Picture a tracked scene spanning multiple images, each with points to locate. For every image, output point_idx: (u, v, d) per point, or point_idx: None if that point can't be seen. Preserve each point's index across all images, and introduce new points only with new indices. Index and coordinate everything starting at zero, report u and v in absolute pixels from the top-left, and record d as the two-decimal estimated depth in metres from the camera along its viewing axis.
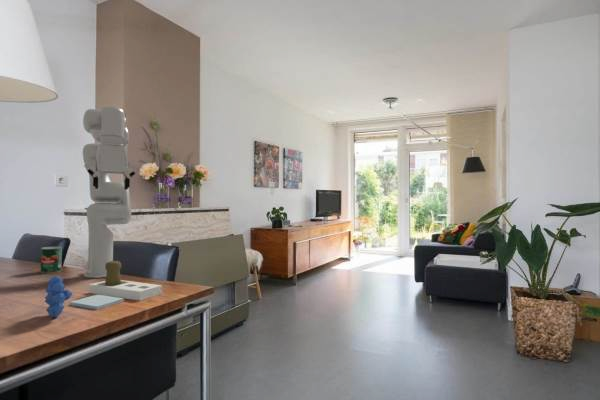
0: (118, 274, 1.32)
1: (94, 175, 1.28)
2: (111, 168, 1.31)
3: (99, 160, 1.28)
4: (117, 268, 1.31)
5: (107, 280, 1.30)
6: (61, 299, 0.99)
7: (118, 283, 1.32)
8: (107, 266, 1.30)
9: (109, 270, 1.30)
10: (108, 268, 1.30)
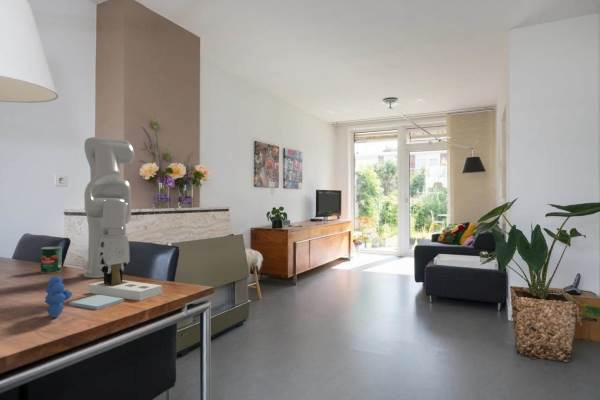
0: (118, 274, 1.32)
1: None
2: None
3: None
4: (117, 268, 1.31)
5: None
6: (61, 299, 0.99)
7: (118, 283, 1.32)
8: (107, 266, 1.30)
9: None
10: None
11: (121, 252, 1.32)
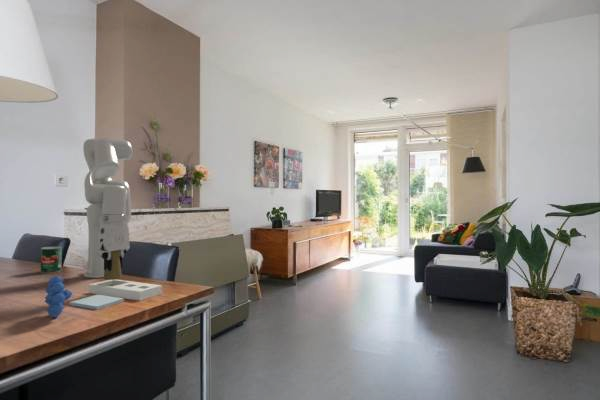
0: (118, 261, 1.32)
1: None
2: None
3: None
4: (117, 254, 1.32)
5: None
6: (61, 299, 0.99)
7: (118, 269, 1.32)
8: (107, 252, 1.30)
9: None
10: None
11: (121, 239, 1.33)
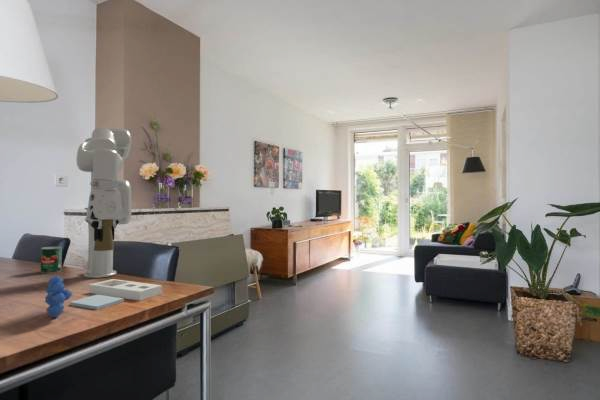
0: (110, 231, 1.22)
1: None
2: None
3: None
4: (108, 224, 1.21)
5: None
6: (61, 299, 0.99)
7: (109, 240, 1.22)
8: (97, 221, 1.20)
9: None
10: None
11: (113, 207, 1.23)
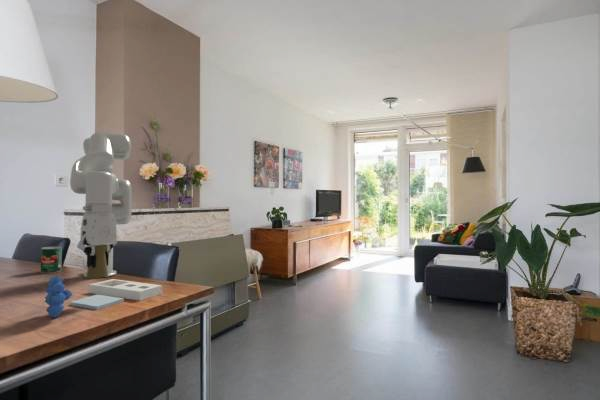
0: (103, 256, 1.17)
1: None
2: None
3: None
4: (102, 249, 1.16)
5: None
6: (61, 299, 0.99)
7: (103, 266, 1.16)
8: (90, 247, 1.15)
9: None
10: None
11: (107, 232, 1.17)
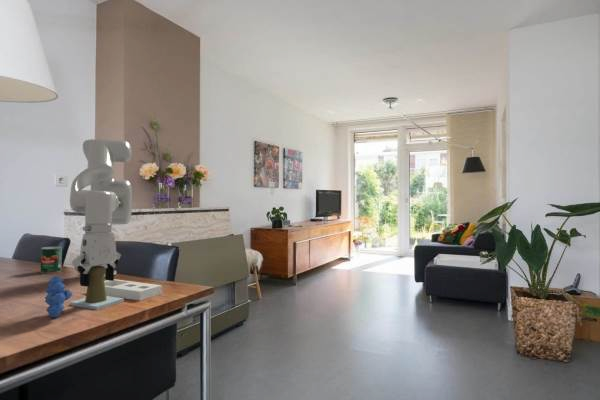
0: (102, 281, 1.17)
1: None
2: None
3: None
4: (100, 274, 1.16)
5: (89, 288, 1.15)
6: (61, 299, 0.99)
7: (101, 291, 1.16)
8: (89, 272, 1.15)
9: (91, 276, 1.15)
10: (90, 274, 1.15)
11: (106, 251, 1.17)
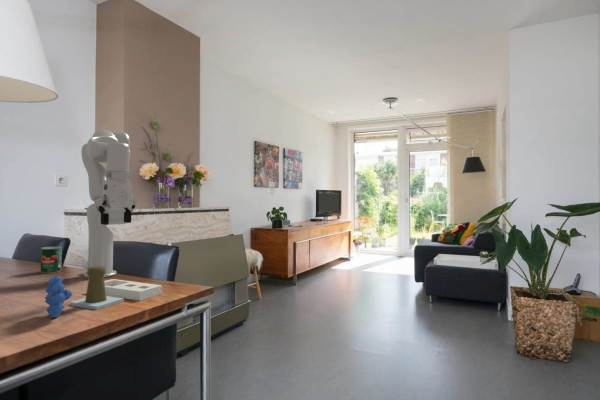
0: (102, 281, 1.17)
1: None
2: None
3: None
4: (100, 274, 1.16)
5: (89, 288, 1.15)
6: (61, 299, 0.99)
7: (101, 291, 1.16)
8: (89, 272, 1.15)
9: (91, 276, 1.15)
10: (90, 274, 1.15)
11: (124, 196, 1.33)
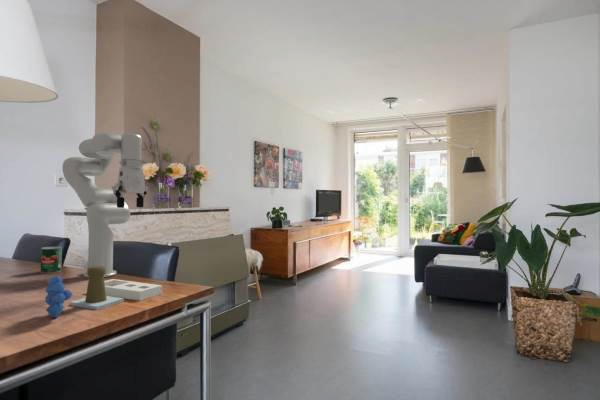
0: (102, 281, 1.17)
1: None
2: None
3: None
4: (100, 274, 1.16)
5: (89, 288, 1.15)
6: (61, 299, 0.99)
7: (101, 291, 1.16)
8: (89, 272, 1.15)
9: (91, 276, 1.15)
10: (90, 274, 1.15)
11: (138, 182, 1.47)
